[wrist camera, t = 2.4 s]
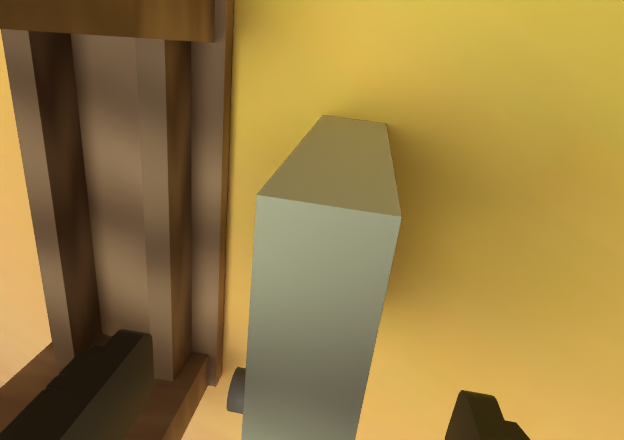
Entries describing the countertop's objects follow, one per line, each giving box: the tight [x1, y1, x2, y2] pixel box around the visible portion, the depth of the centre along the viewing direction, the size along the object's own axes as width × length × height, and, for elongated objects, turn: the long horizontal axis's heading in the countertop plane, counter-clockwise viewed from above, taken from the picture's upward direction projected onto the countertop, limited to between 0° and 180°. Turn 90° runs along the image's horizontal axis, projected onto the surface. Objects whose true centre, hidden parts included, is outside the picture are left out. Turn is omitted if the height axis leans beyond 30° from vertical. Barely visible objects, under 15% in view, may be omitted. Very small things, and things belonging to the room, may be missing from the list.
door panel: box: [227, 115, 402, 440], centre depth 16 cm, size 10×4×12 cm, turn 174°
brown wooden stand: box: [0, 0, 234, 440], centre depth 16 cm, size 22×10×15 cm, turn 174°
